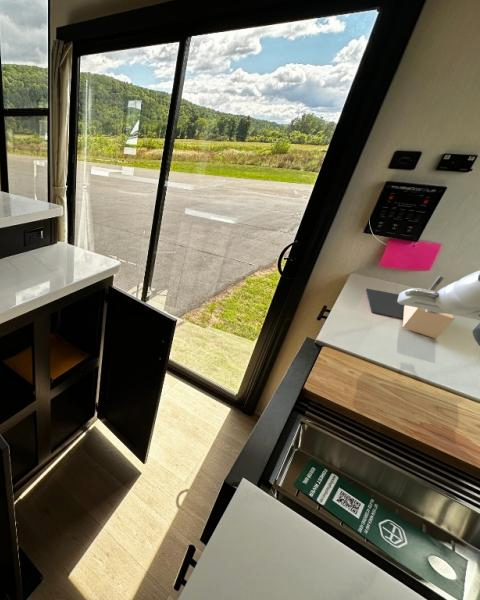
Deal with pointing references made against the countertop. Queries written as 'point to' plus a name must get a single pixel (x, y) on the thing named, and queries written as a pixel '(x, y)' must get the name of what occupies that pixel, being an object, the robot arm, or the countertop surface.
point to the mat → (385, 304)
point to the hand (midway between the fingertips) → (431, 310)
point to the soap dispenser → (426, 318)
